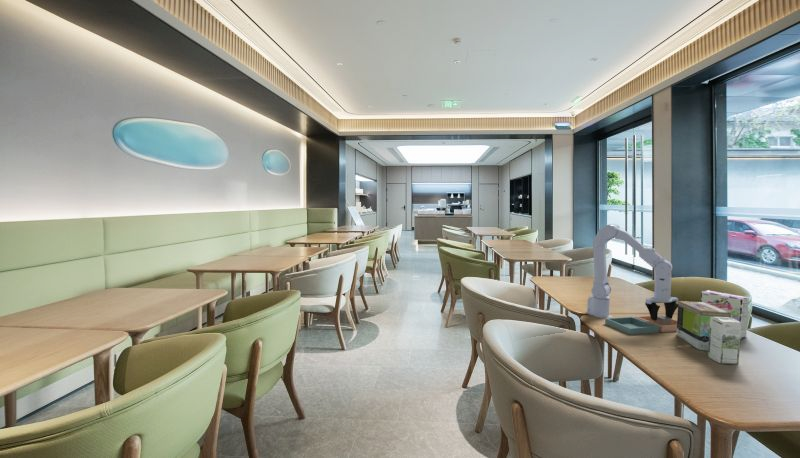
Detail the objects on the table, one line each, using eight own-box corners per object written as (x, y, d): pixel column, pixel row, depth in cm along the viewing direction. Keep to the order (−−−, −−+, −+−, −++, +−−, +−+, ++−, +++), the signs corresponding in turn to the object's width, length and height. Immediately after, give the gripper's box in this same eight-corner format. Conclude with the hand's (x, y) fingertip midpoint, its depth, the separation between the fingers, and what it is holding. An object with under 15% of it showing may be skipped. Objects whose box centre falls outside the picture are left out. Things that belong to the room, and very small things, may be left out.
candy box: (698, 329, 153) (700, 290, 152) (705, 327, 156) (707, 289, 155) (739, 339, 141) (742, 298, 140) (747, 337, 143) (749, 296, 142)
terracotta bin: (634, 323, 161) (634, 316, 161) (660, 321, 164) (660, 314, 164) (661, 333, 148) (661, 326, 148) (689, 331, 150) (689, 324, 150)
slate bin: (605, 325, 159) (605, 318, 158) (631, 323, 161) (632, 316, 161) (630, 335, 145) (630, 328, 145) (658, 333, 148) (659, 326, 148)
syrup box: (725, 357, 124) (727, 316, 123) (739, 365, 118) (741, 321, 118) (707, 356, 125) (709, 315, 124) (720, 364, 119) (722, 321, 118)
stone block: (652, 324, 158) (653, 315, 157) (660, 323, 158) (660, 314, 158) (663, 328, 153) (663, 318, 152) (671, 327, 153) (671, 318, 153)
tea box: (730, 352, 128) (732, 312, 128) (698, 350, 130) (700, 310, 130) (703, 337, 143) (705, 301, 142) (675, 336, 145) (676, 299, 144)
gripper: (656, 291, 150) (655, 323, 150) (685, 289, 152) (684, 321, 153) (642, 287, 157) (640, 318, 157) (670, 286, 159) (669, 316, 160)
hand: (661, 319), depth 156 cm, fingers open, 7 cm apart
